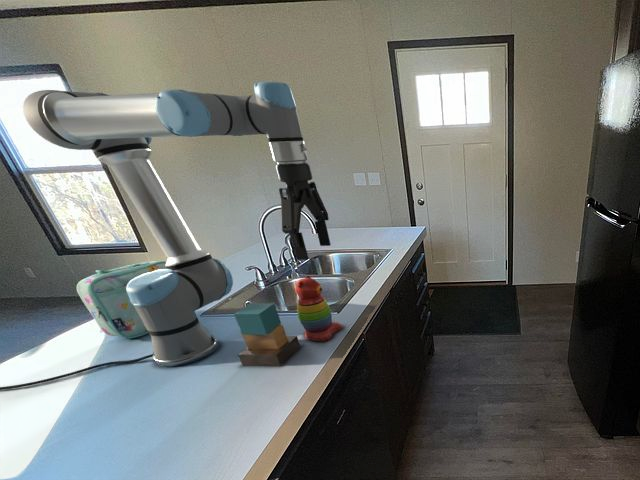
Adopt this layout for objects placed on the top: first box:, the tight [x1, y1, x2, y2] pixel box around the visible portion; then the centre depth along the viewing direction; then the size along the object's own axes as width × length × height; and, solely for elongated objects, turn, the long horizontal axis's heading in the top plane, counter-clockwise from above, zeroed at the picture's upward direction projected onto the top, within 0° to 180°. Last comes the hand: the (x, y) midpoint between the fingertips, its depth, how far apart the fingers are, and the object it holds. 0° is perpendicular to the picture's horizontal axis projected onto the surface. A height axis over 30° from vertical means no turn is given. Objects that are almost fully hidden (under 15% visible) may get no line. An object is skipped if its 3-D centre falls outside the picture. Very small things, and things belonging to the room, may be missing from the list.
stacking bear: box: [294, 275, 343, 342], centre depth 114 cm, size 11×10×18 cm
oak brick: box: [241, 324, 288, 349], centre depth 104 cm, size 9×5×5 cm, turn 85°
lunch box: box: [76, 260, 167, 339], centre depth 123 cm, size 27×10×21 cm, turn 158°
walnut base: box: [237, 335, 301, 367], centre depth 106 cm, size 11×11×4 cm
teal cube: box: [233, 302, 282, 335], centre depth 101 cm, size 7×7×6 cm
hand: (314, 252), depth 101 cm, fingers open, 13 cm apart
